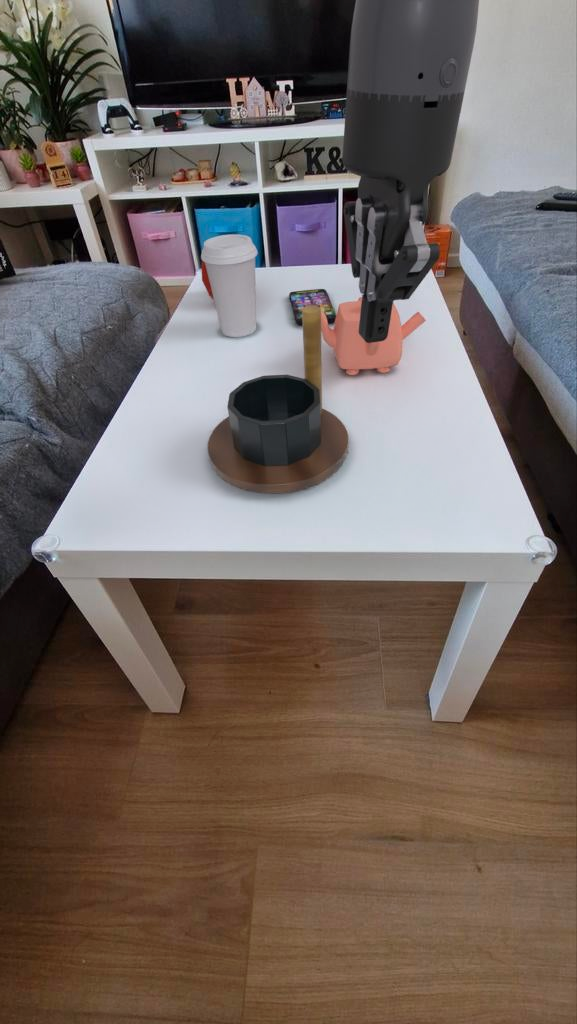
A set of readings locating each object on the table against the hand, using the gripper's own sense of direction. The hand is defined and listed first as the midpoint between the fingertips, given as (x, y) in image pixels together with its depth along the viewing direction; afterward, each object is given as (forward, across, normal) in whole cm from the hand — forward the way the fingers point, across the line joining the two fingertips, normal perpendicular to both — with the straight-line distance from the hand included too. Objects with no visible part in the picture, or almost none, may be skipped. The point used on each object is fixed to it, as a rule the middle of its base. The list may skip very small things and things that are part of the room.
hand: (372, 338), depth 44 cm
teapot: (+20, -29, +13) cm, 37 cm away
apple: (+22, -64, -2) cm, 68 cm away
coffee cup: (+22, -50, -3) cm, 54 cm away
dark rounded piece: (+20, -11, -6) cm, 23 cm away
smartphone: (+21, -53, +12) cm, 58 cm away
